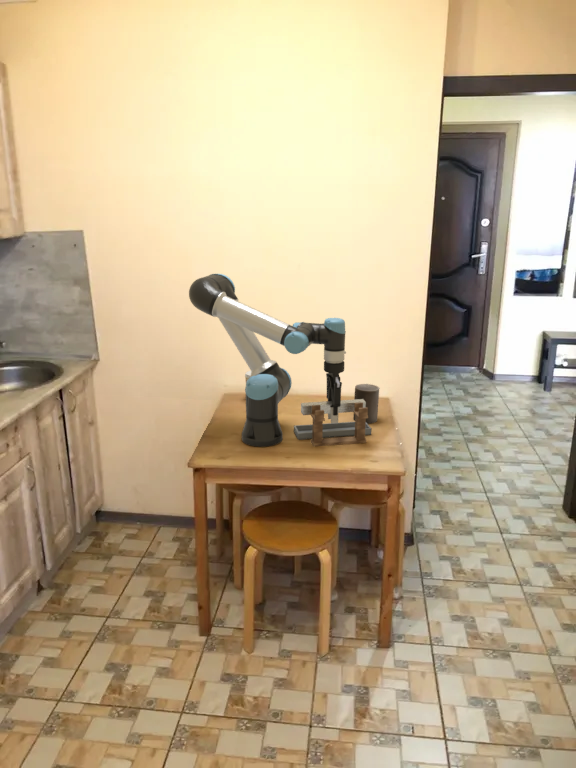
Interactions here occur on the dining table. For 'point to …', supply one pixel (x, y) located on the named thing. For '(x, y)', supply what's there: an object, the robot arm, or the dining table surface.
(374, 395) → the pillar candle
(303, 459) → the dining table surface
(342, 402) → the rail
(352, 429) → the tray
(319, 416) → the rack
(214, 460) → the dining table surface
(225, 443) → the dining table surface
